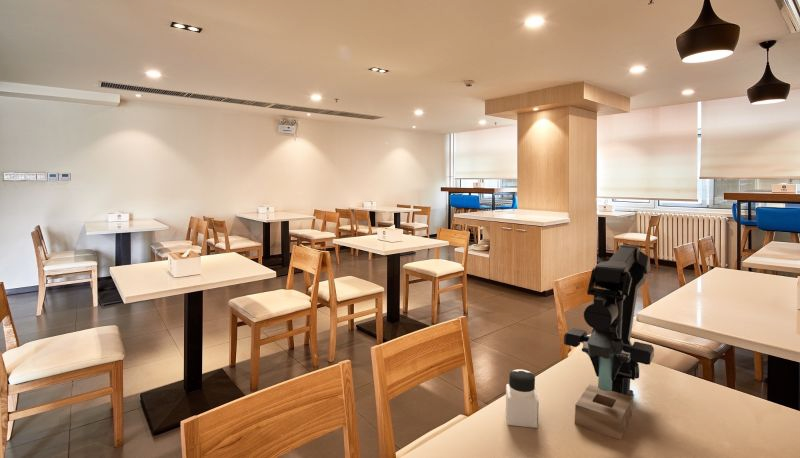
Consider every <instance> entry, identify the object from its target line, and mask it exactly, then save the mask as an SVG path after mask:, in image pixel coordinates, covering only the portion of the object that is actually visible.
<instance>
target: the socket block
mask: <svg viewBox="0 0 800 458" xmlns="http://www.w3.org/2000/svg"><path fill="white" fill-rule="evenodd" d="M632 407H633V396H628V395H624V394H621V393H617V392H614V391H603V390H601V389H599V388H598V385H597V386H596V385H593V384H590V383H589V384H588V386H587V387H586V388H585V390H584V391H583V393H582V394H581V396H580V397H579V399H578V400H577V401H576V403H575V406H574V424H575V425H578V426H581V427H584V428H586V429H590V430H592V431H594V432H596V433H600V434H603V435H605V436H608V437H611V438H614V439H617V440H620V441H621V440H622V437H623V434H624V433H625V430H626V428H627V426H628V425H629V421H630V419H631V417H632V411H633V410H632V409H633V408H632Z"/></svg>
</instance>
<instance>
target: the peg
mask: <svg viewBox="0 0 800 458" xmlns="http://www.w3.org/2000/svg"><path fill="white" fill-rule="evenodd" d="M613 357H614V354H612V357H611V358H609V359H605V358H603V357H600V356H599V377H597V378H598V381H597V382H598V383H597V387H598V388H599V389H601V390H603V391H611V390H612V371H613Z"/></svg>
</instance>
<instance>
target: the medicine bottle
mask: <svg viewBox="0 0 800 458" xmlns="http://www.w3.org/2000/svg"><path fill="white" fill-rule="evenodd" d="M508 378H509V382H508V383H507V384H506V385H505V413H506V424H507V425H508V426H514V427H523V428H532V429H533V428H534V429H537V428H539V402H540V401H539V398H538V394H537V390H536V387H535V385H536V377H535V375H534V373H532V372H531V371H528V370H526V369H514V370H512V371H510V372H509V377H508Z"/></svg>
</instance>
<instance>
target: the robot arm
mask: <svg viewBox="0 0 800 458" xmlns="http://www.w3.org/2000/svg"><path fill="white" fill-rule="evenodd" d="M649 257H650V256H649V255H647V254H645V253H644V252H642V251H641V250H640V247H639V246H637V245H628V244H627V245H626V244H620V245H617V247H616V250H615V252H614V253H613V255H612V256H611V257H610V258H609V260H607V261H600V262H598V263H597V264H596V265H595V267H593V268H592V270H591V274H590V278H589V283H588V287H587V292H586V295H588V296H593V301H592V302H591V303H590V304H589V305H588V306H587V307H586V308H585V309H584V312H583V319H584V321H585V323H586V324H587V325H588V326H589V327H590V328H591V329H592V331H591V333H590V335H588V333H587V330H583V329H580V328H575V327H572V328H570V329H569V330H568V331H567V332H565V333H564V335H563V345H566V346H570V347H574V348H577V347H578V346H580V344H581V343H582V348H581V352H583V353H585V354H587V355H588V357H589V360H590V361H591V363H592V367H593V369H594V373H595V376H596V377H597V378H599V356H600V357H603V358H605V359H609V358H611V357H612V354H614V357H613V371H612V390H611V391H614V392H617V393H621V394H624V395H628V396H631V397H633V394H634V391H633V390H632V389H631V381H635V380H637V379H640V366H639V364H642V365H651V363H652V361H653V359H654V357H655V356H654V355H655V348H654V346H653V345H652V344H649V343H643V342H639V341H634V342H633V344H632V342H631V338H632V336H631V335H632V330H633V322H634V316H635V311H636V303H637V302H636V301H637V296H638V290H639V288H640V287H642V285H644V284H645V282H646V281H647V275H650V270H651V261H650V258H649Z"/></svg>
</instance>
